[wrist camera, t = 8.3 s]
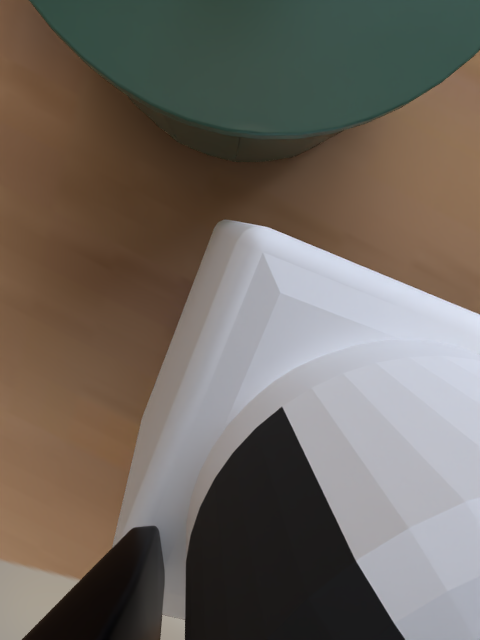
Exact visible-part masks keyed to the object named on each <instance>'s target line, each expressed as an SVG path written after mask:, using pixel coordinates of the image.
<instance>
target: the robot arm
mask: <svg viewBox="0 0 480 640" xmlns="http://www.w3.org/2000/svg"><path fill="white" fill-rule="evenodd" d="M164 586H165V570H164V562H163V555H162V547H161V540H160V533H159V530H158V528H157V527H156V526H142V527H134V528H132V529H131V530H130V531H129V532H128V533H127V534H126V535H125V536H124V537H123V538H122V539H121V540H120V541H119V542H118V543H117V544H116V545H115V546H114V547H113V548H112V549H111V550H110V551H109V552H108V553H107V554H106V555H105V556H104V557H103V558H102V559H101V560H100V561H99V562H98V563H97V564H96V565H95V566H94V567H93V568H92V569H91V570H90V571H89V572H88V573H87V574H86V575H85V576H84V577H83V578H82V579H81V580H80V581H79V582H78V583H77V584H76V585H75V586H74V587H73V588H72V589H71V591H70V592H68V593H67V594H66V596H64V597H63V599H62V600H60V601H59V603H58V604H57V605H56V606H55V607H54V608H53V609H52V610H51V611H50V612H49V613H48V614H47V615H46V616H45V617H44V618H43V619H42V620H41V621H40V622H39V623H38V624H37V625H36V626H35V627H34V628H33V629H32V630H31V631H30V632H29V633H28V634H27V635H26V636H25V637H24V638H23V639H22V640H160V635H161V634H160V633H161V622H162V610H163V598H164Z"/></svg>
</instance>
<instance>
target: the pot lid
mask: <svg viewBox="0 0 480 640" xmlns="http://www.w3.org/2000/svg"><path fill="white" fill-rule="evenodd" d="M29 1H30V2H31V3H32V5H33V6H34V7H35V8H36V10H37V11H38V12H39V13H40V15H41V16H42V17H43V18H44V20H45V21H46V22H47V23H48V25H49V26H50V27H51V29H52V30H53V31H54V32H55V33H56V34H57V35H58V36H59V37H60V38H61V39H62V40H63V41H64V42H65V43H66V44H67V45H68V46H69V47H70V48H71V49H72V50H73V51H74V52H75V53H76V54H77V55H78V56H79V57H80V58H81V59H82V60H83V61H84V62H85V63H86V64H87V65H88V66H89V67H90V68H92V69H93V70H94V71H95V72H97V73H98V74H99V75H101V76H102V77H103V78H104V79H106V80H107V81H108V82H110V83H111V84H112V85H114V86H115V87H116V88H117V89H119V90H120V91H122V92H123V93H125V94H127V95H128V96H130V97H132V98H133V99H135V100H137V101H139V102H140V103H142V104H144V105H145V106H147V107H149V108H150V109H152V110H154V111H156V112H158V113H161V114H163V115H166V116H168V117H170V118H173V119H175V120H177V121H180V122H182V123H185V124H187V125H189V126H193V127H197V128H201V129H204V130H208V131H212V132H215V133H219V134H223V135H229V136H236V137H244V138H252V139H260V140H265V139H300V138H307V137H313V136H320V135H326V134H332V133H336V132H339V131H342V130H346V129H349V128H353V127H356V126H359V125H363V124H366V123H368V122H371V121H373V120H375V119H377V118H380V117H382V116H384V115H386V114H388V113H391V112H393V111H395V110H397V109H399V108H401V107H403V106H405V105H406V104H408V103H409V102H411V101H413V100H414V99H416V98H417V97H419V96H421V95H422V94H424V93H426V92H427V91H429V90H430V89H432V88H434V87H435V86H437V85H438V84H440V83H441V82H443V81H444V80H445V79H446V78H448V77H449V76H450V75H451V74H452V73H454V72H455V71H456V70H457V69H459V68H460V67H461V66H462V65H464V64H465V63H466V62H467V61H469V60H470V59H471V58H472V57H473V56H474V55H475V54H476V53H477V52H478V51H479V50H480V0H29Z"/></svg>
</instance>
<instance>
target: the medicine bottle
mask: <svg viewBox="0 0 480 640" xmlns="http://www.w3.org/2000/svg"><path fill="white" fill-rule="evenodd" d="M142 526H156V527H157V528H158V530H159V533H160V540H161V547H162V555H163V562H164V570H165V586H164V598H163V610H162V615H165V616H170V617H174V618H179V619H183V620H185V640H480V315H479V314H477V313H474V312H472V311H469V310H467V309H465V308H462V307H460V306H457V305H455V304H452V303H450V302H448V301H445V300H443V299H440V298H438V297H436V296H433V295H431V294H428V293H426V292H423V291H421V290H419V289H416V288H414V287H411V286H409V285H407V284H404V283H402V282H399V281H397V280H394V279H392V278H390V277H387V276H385V275H382V274H380V273H378V272H375V271H373V270H370V269H368V268H365V267H363V266H361V265H358V264H356V263H353V262H351V261H349V260H346V259H344V258H341V257H339V256H336V255H334V254H332V253H329V252H327V251H324V250H322V249H320V248H317V247H315V246H312V245H310V244H307V243H305V242H303V241H300V240H298V239H295V238H293V237H291V236H288V235H286V234H283V233H281V232H278V231H276V230H274V229H271V228H269V227H264V226H259V225H254V224H248V223H243V222H238V221H233V220H225V219H224V220H222V221H220V222H218V223H217V225H216V226H215V227H214V230H213V232H212V235H211V238H210V240H209V243H208V246H207V248H206V251H205V254H204V256H203V259H202V261H201V264H200V267H199V269H198V272H197V275H196V277H195V280H194V283H193V285H192V288H191V290H190V293H189V296H188V298H187V301H186V304H185V306H184V309H183V312H182V314H181V317H180V319H179V322H178V325H177V327H176V330H175V333H174V335H173V338H172V341H171V343H170V346H169V348H168V351H167V354H166V356H165V359H164V362H163V364H162V367H161V370H160V372H159V375H158V377H157V380H156V383H155V385H154V388H153V391H152V393H151V396H150V398H149V401H148V404H147V406H146V409H145V412H144V414H143V417H142V420H141V425H140V429H139V433H138V438H137V442H136V446H135V451H134V455H133V459H132V464H131V468H130V472H129V477H128V481H127V485H126V490H125V494H124V498H123V503H122V507H121V511H120V516H119V520H118V524H117V528H116V533H115V537H114V541H113V546H112V548H113V547H114V546H115V545H116V544H117V543H118V542H119V541H120V540H121V539H122V538H123V537H124V536H125V535H126V534H127V533H128V532H129V531H130V530H131V529H132V528H134V527H142Z"/></svg>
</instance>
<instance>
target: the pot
mask: <svg viewBox="0 0 480 640" xmlns="http://www.w3.org/2000/svg"><path fill="white" fill-rule="evenodd" d="M126 95H127V94H126ZM127 96H128V95H127ZM128 97H129V99H130V100H131V101H132V102H133V103H134V104H135V105H136V106H137V107H138V108H139V109H141V110H142V111H143V112H144V113H145V114H146V115H147V116H148V117H149V118H150V119H151V120H152V121H153V122H154V123H155V124H156V125H157V126H159V127H160V128H161V129H163V130H164V131H165V132H166V133H168V134H169V135H170V136H171V137H172V138H174V139H175V140H176V141H177V142H180V143H181V144H183V145H186V146H188V147H190V148H192V149H195V150H197V151H200V152H202V153H204V154H207V155H210V156H214V157H218V158H221V159H225V160H230V161H233V162H234V161H236V162H265V161H271V160H278V159H283V158H292V157H293V156H297V155H299V154H301V153H303V152H304V151H306V150H309V149H311V148H313V147H315V146H317V145H319V144H320V143H322V142H324V141H325V140H327V139H329V138H331V137H332V136H334V135H336V134H338V133H340V132H342V131H344V130H342V131H339V132H336V133H332V134H326V135H320V136H313V137H307V138H300V139H265V140H260V139H252V138H244V137H236V136H229V135H223V134H219V133H215V132H212V131H208V130H204V129H201V128H197V127H193V126H189V125H187V124H185V123H182V122H180V121H177V120H175V119H173V118H170V117H168V116H166V115H163V114H161V113H158V112H156V111H154V110H152V109H150V108H149V107H147V106H145V105H144V104H142V103H140V102H139V101H137V100H135V99H133V98H132V97H130V96H128Z"/></svg>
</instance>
